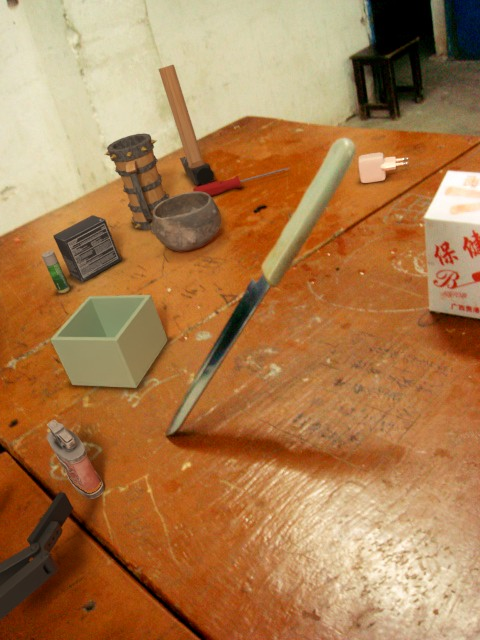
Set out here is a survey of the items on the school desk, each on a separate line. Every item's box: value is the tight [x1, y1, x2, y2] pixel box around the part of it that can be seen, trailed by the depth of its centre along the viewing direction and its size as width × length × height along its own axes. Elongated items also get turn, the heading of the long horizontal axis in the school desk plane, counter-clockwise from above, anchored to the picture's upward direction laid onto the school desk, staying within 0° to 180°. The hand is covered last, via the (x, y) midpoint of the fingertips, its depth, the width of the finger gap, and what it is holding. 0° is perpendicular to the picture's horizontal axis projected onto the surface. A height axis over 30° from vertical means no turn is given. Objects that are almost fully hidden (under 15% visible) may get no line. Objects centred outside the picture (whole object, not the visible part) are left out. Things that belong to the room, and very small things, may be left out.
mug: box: [103, 132, 170, 230], centre depth 152 cm, size 13×17×20 cm
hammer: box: [158, 64, 215, 186], centre depth 170 cm, size 20×5×30 cm, turn 17°
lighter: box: [46, 419, 106, 500], centre depth 85 cm, size 8×3×10 cm, turn 40°
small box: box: [53, 214, 122, 283], centre depth 141 cm, size 11×6×10 cm, turn 130°
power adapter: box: [357, 151, 410, 184], centre depth 146 cm, size 11×5×6 cm, turn 78°
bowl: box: [150, 191, 222, 252], centre depth 139 cm, size 14×15×10 cm
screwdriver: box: [192, 167, 291, 197], centre depth 162 cm, size 4×25×4 cm, turn 97°
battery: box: [41, 249, 71, 295], centre depth 135 cm, size 3×3×10 cm
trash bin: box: [49, 294, 169, 389], centre depth 107 cm, size 13×13×10 cm
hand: (19, 493), depth 76 cm, fingers open, 13 cm apart
